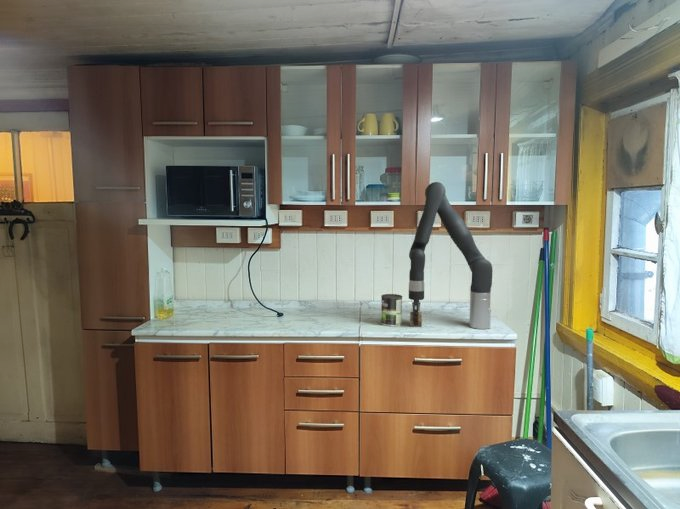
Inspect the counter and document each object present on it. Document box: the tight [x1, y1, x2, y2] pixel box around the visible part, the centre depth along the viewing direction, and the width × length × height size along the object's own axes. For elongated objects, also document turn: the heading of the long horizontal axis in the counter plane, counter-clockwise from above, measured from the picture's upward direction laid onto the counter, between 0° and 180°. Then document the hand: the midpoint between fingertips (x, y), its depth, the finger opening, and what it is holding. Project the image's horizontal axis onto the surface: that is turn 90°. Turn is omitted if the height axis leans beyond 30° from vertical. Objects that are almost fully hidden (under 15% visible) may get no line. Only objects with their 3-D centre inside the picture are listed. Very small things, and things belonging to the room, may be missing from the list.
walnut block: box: [409, 311, 423, 328], centre depth 207 cm, size 6×6×6 cm
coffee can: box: [380, 293, 403, 327], centre depth 209 cm, size 10×10×14 cm
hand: (415, 323), depth 207 cm, fingers closed on walnut block, 5 cm apart
